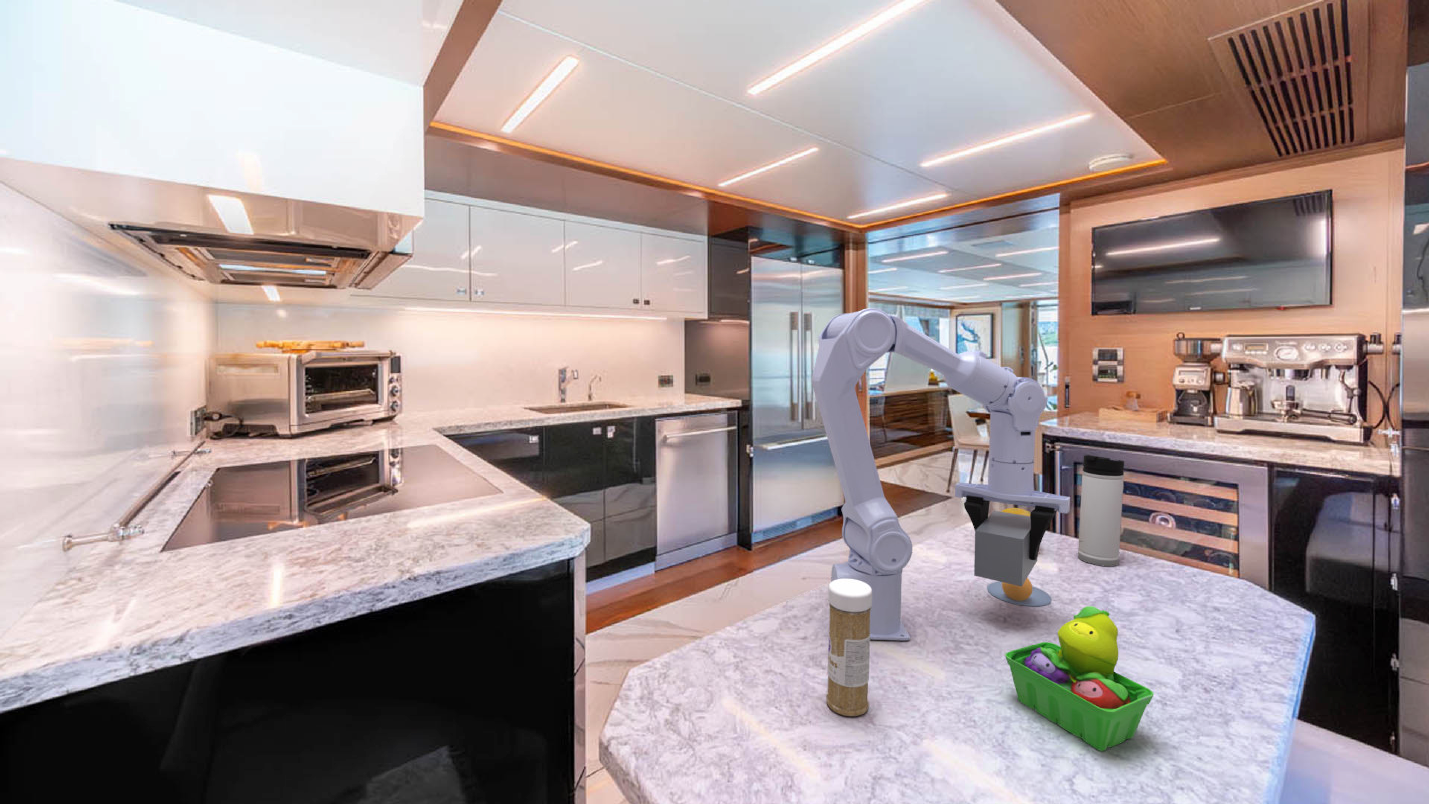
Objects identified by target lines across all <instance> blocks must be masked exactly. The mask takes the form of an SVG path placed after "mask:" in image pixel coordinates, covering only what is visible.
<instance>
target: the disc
mask: <svg viewBox="0 0 1429 804" xmlns="http://www.w3.org/2000/svg"><path fill="white" fill-rule="evenodd" d="M986 590H987V592H988V593H989V594H990V595H991V596H992V597H994V598H996V599H999V600H1001V601H1002V602H1005V603H1009V604H1013V605H1018V606H1023V607H1024V606H1025V607H1044V606H1047V605H1050V604H1051V602H1052V597H1051V595H1050V594H1049V593H1048V592H1046V591H1044V590H1043V589H1040V588H1038V587H1036V586H1033V585H1032V594H1031V596H1030V597H1029V598H1028V599H1026V600H1023V601H1016V600H1013V599H1011V598H1009V597H1008V596H1007V595H1006V594H1005V593H1004V591H1003V589H1002V582H1000V581H995V582H991V583H990V584H988V585H987V587H986Z"/></svg>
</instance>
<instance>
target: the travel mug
mask: <svg viewBox="0 0 1429 804" xmlns="http://www.w3.org/2000/svg"><path fill="white" fill-rule="evenodd" d="M1082 466H1083V467H1082V476H1081V492H1080V493H1081V494H1080V509H1079V510H1080V513H1079V514H1080V515H1079V531H1078V550H1077V552H1078V553H1077V557H1078V559H1079V560H1081V561H1082V560H1083V562H1084V561H1085V562H1084V563H1087V562H1088V563H1087V564H1090V563H1092V564H1091V565H1094V564H1095V566H1099V565H1104V566H1103V567H1115V565H1116V566H1117V565H1119V563H1120V562H1119V561H1120V546H1121V545H1120V544H1121V532H1122V531H1121V528H1122V527H1121V526H1122V514H1123V499H1124V498H1123V496H1124V495H1123V494H1124V477H1125V474H1124V472H1125V471H1124V469H1125V468H1124V467H1125V461H1124V460H1121V459H1119V460H1114V459H1111V458H1109V457H1104V456H1103V457H1101V456H1096V455H1090V454H1085V455H1083V464H1082Z"/></svg>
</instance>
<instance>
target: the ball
mask: <svg viewBox="0 0 1429 804" xmlns="http://www.w3.org/2000/svg"><path fill="white" fill-rule="evenodd" d="M1032 586H1033V584H1032V582H1031V580H1030V579H1029V578H1028V577H1027V579H1026V581H1025V582H1024V584H1023V586H1022V587H1021V586H1017V585H1013V584H1008V583H1004V582H1002V589H1003V591H1004V593H1005V594H1006V595H1007V596H1008V597H1009V598H1011V599H1013V600H1016V601H1023V600H1026V599H1028V598H1029V597H1030V596H1031V594H1032Z"/></svg>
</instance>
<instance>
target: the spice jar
mask: <svg viewBox="0 0 1429 804" xmlns="http://www.w3.org/2000/svg"><path fill="white" fill-rule="evenodd" d="M827 590H828V591H827V592H828V593H827V601H828V604H829V627H828V629H829V631H828V652H827V653H828V655H827V657H828V658H827V675H828V676H827V694H826V703H827V706H828V707H829V708H830V710H832V711H833V712H835V713H836V714H840V715H841V716H847V717H857V716H862V715H863V714H866V712H868V709H869V706H870V704H869V699H868V695H869V693H868V691H869V678H870V654H871V653H870V650H871V649H870V648H871V639H870V610H871V606H872V589H871V587H870V586H869V585H868V584H866V583H864V582H862V581H859V580H855V579H837V580H834V581H832V582H831V581H830V582H829V584H828V589H827Z"/></svg>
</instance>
